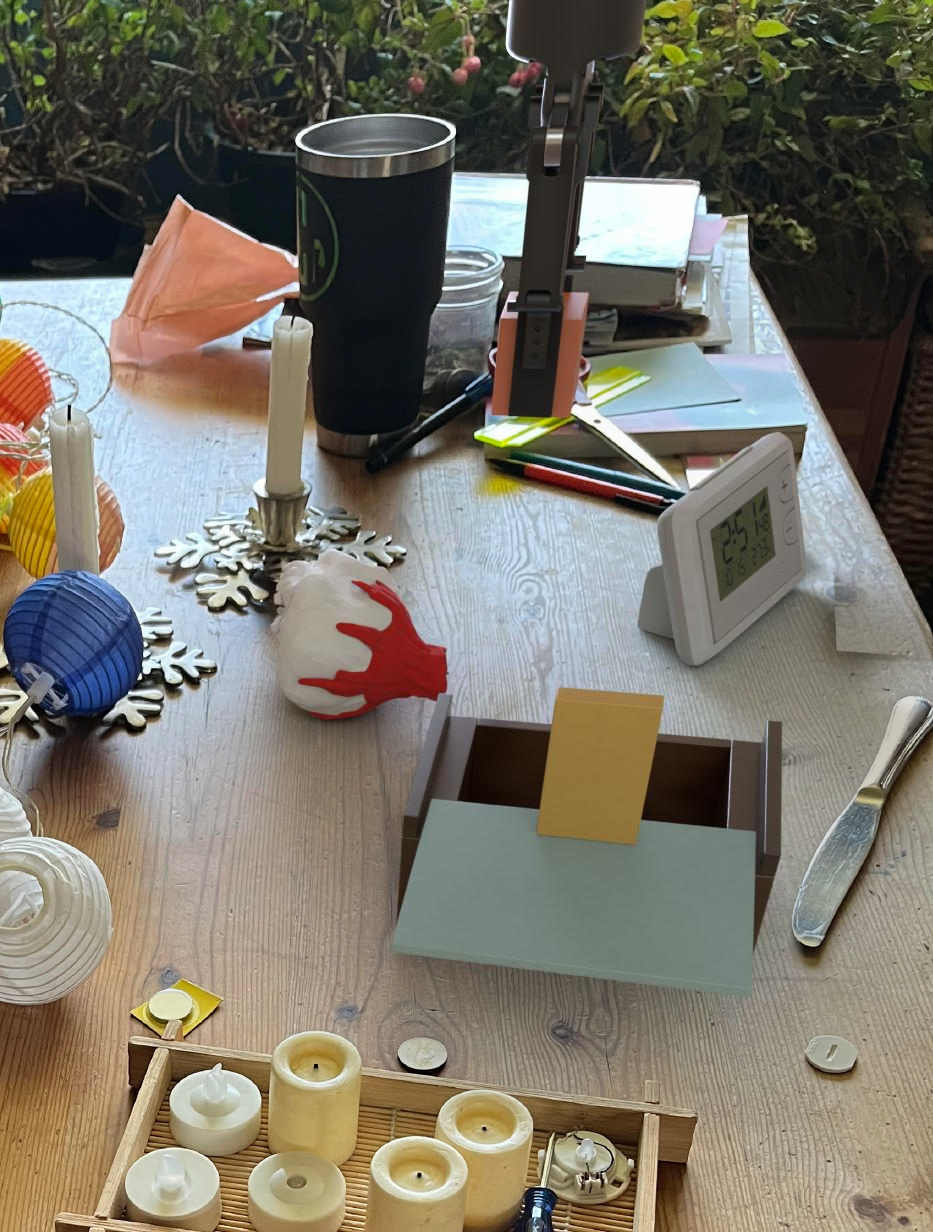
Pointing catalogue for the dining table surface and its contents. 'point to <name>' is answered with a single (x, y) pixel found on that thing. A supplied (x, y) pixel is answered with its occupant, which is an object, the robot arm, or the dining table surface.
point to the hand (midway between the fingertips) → (535, 396)
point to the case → (676, 793)
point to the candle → (349, 639)
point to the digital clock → (727, 551)
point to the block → (567, 357)
